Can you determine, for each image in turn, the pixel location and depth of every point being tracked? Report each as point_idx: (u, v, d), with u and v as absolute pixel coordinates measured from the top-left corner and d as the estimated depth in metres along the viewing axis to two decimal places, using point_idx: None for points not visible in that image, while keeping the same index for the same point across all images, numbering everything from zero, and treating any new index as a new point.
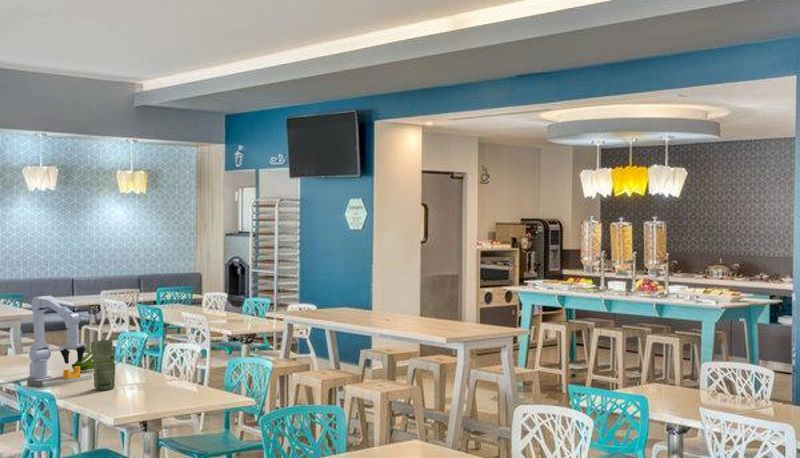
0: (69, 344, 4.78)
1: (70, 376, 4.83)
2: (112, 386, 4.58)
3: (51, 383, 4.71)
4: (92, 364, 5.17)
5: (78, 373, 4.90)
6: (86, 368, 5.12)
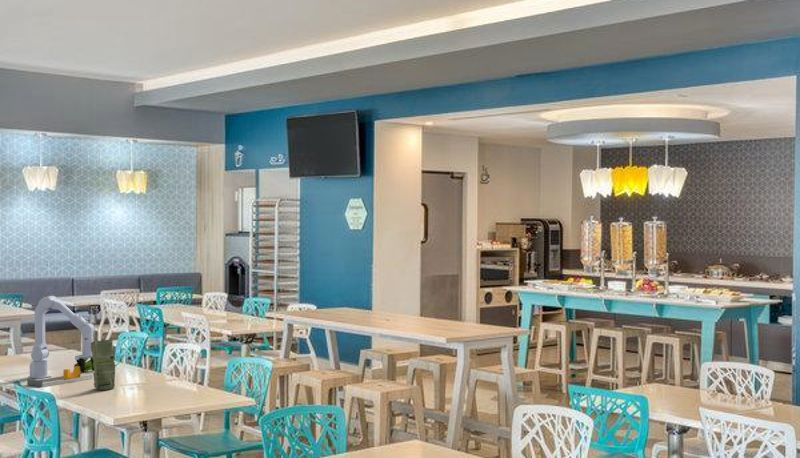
0: (84, 354, 4.93)
1: (70, 376, 4.82)
2: (112, 386, 4.58)
3: (51, 383, 4.71)
4: None
5: (78, 373, 4.90)
6: (88, 368, 5.11)
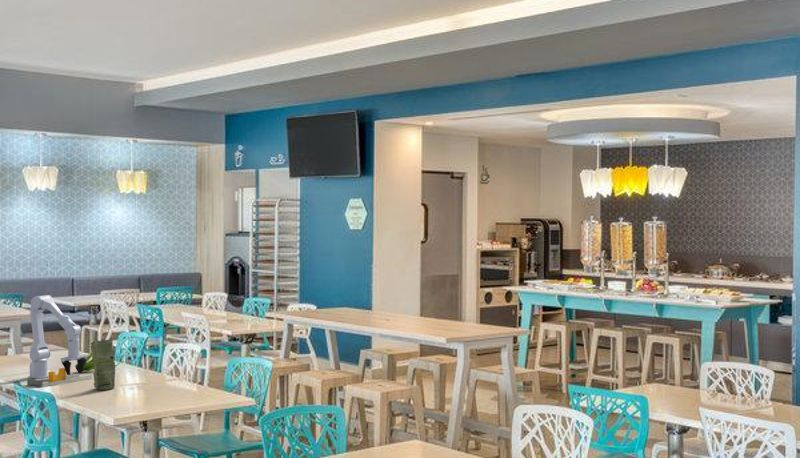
0: (70, 356, 4.86)
1: (55, 378, 4.75)
2: (112, 386, 4.58)
3: (51, 383, 4.71)
4: None
5: (63, 375, 4.83)
6: (90, 368, 5.11)
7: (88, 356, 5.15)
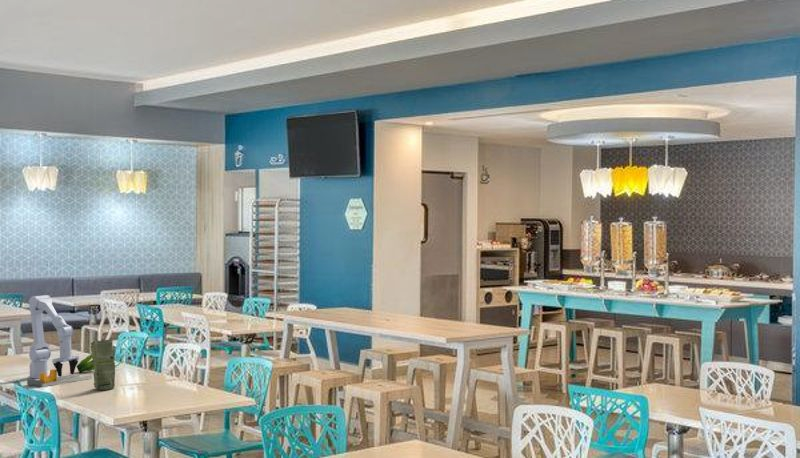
0: (62, 357, 4.82)
1: (47, 380, 4.72)
2: (112, 386, 4.58)
3: (51, 383, 4.71)
4: None
5: (54, 376, 4.79)
6: (91, 368, 5.11)
7: (89, 356, 5.15)
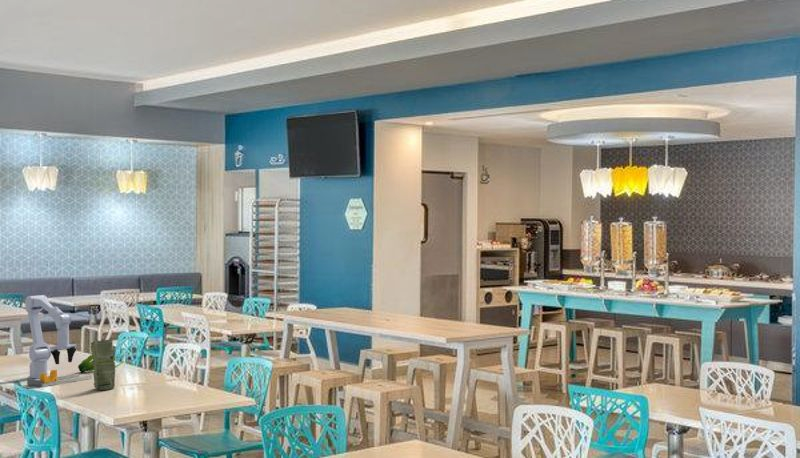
0: (60, 345, 4.81)
1: (47, 380, 4.72)
2: (112, 386, 4.58)
3: (51, 383, 4.71)
4: None
5: (55, 377, 4.79)
6: (93, 368, 5.11)
7: (91, 356, 5.14)
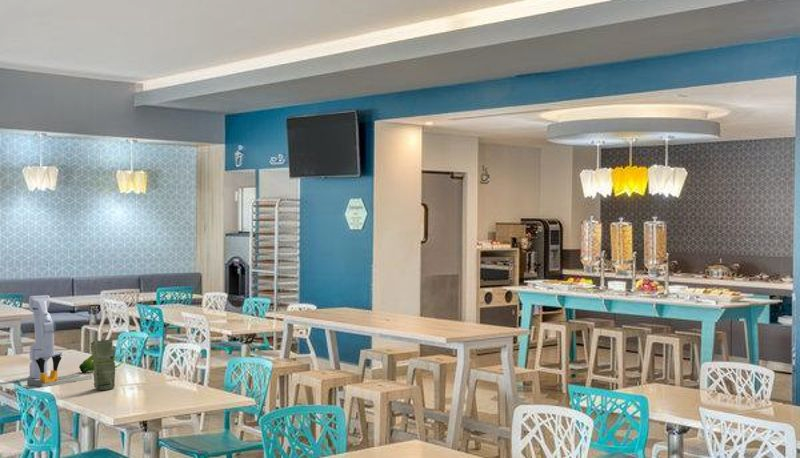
0: (44, 353, 4.74)
1: (47, 380, 4.72)
2: (112, 386, 4.58)
3: (51, 383, 4.71)
4: None
5: (55, 377, 4.79)
6: None
7: None
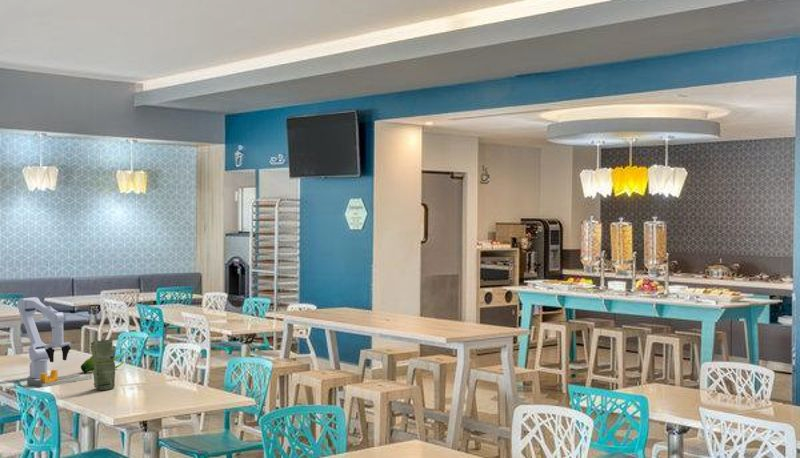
0: (54, 343, 4.85)
1: (47, 380, 4.72)
2: (112, 386, 4.58)
3: (51, 383, 4.71)
4: None
5: (55, 377, 4.80)
6: None
7: None
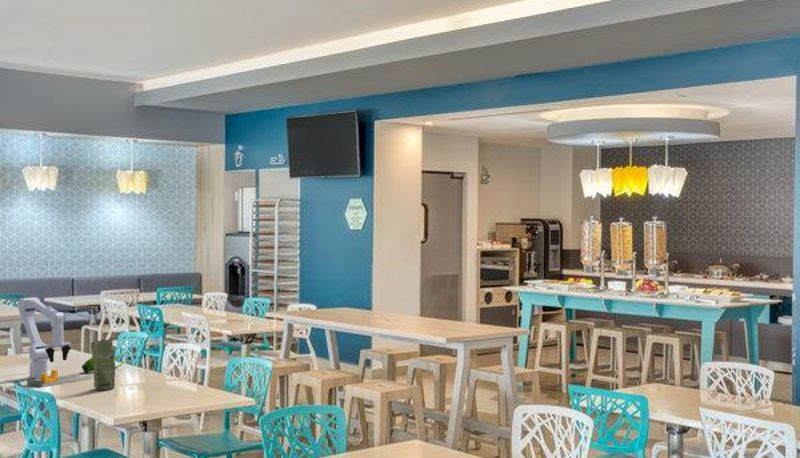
0: (54, 343, 4.85)
1: (47, 380, 4.72)
2: (112, 386, 4.58)
3: (51, 383, 4.71)
4: None
5: (56, 377, 4.80)
6: None
7: None
